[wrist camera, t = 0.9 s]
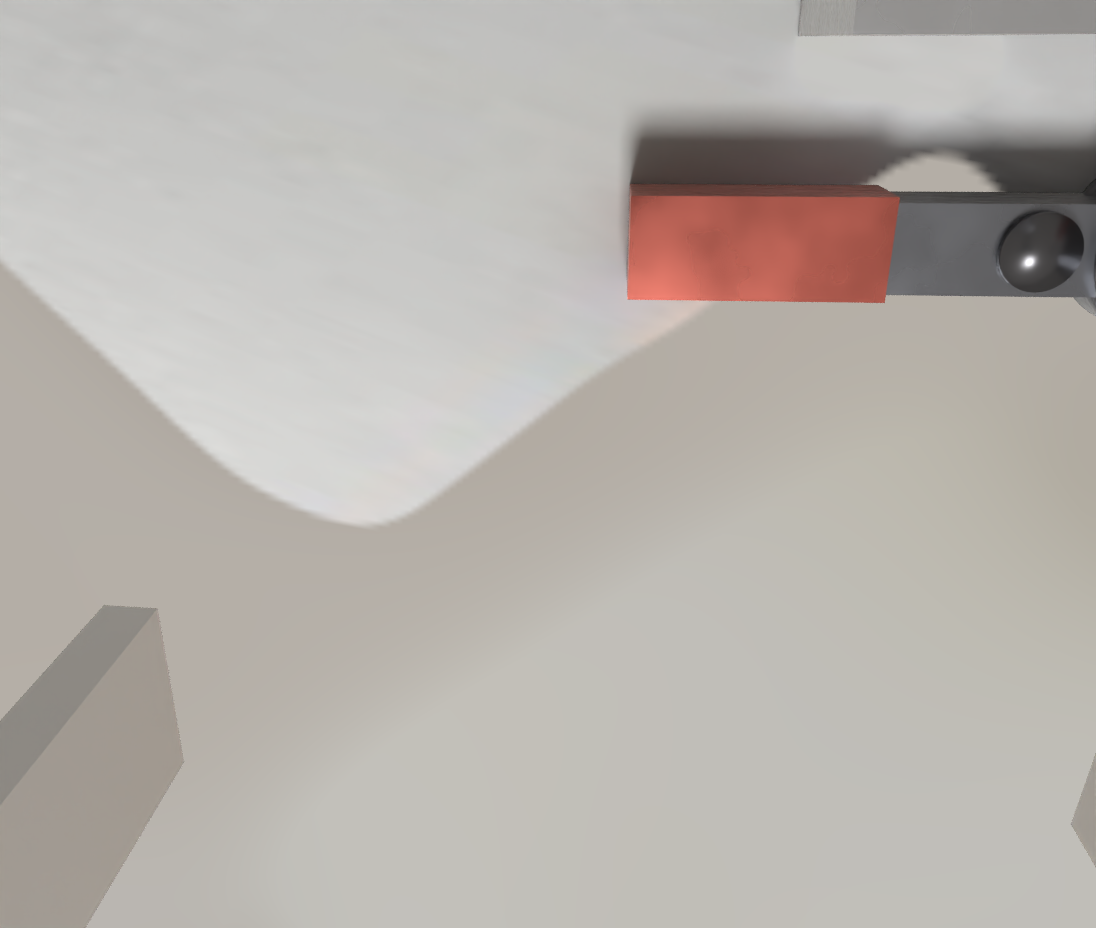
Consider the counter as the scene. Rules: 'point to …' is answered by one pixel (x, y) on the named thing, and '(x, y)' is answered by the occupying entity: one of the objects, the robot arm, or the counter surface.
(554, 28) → the counter surface
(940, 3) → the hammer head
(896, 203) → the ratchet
